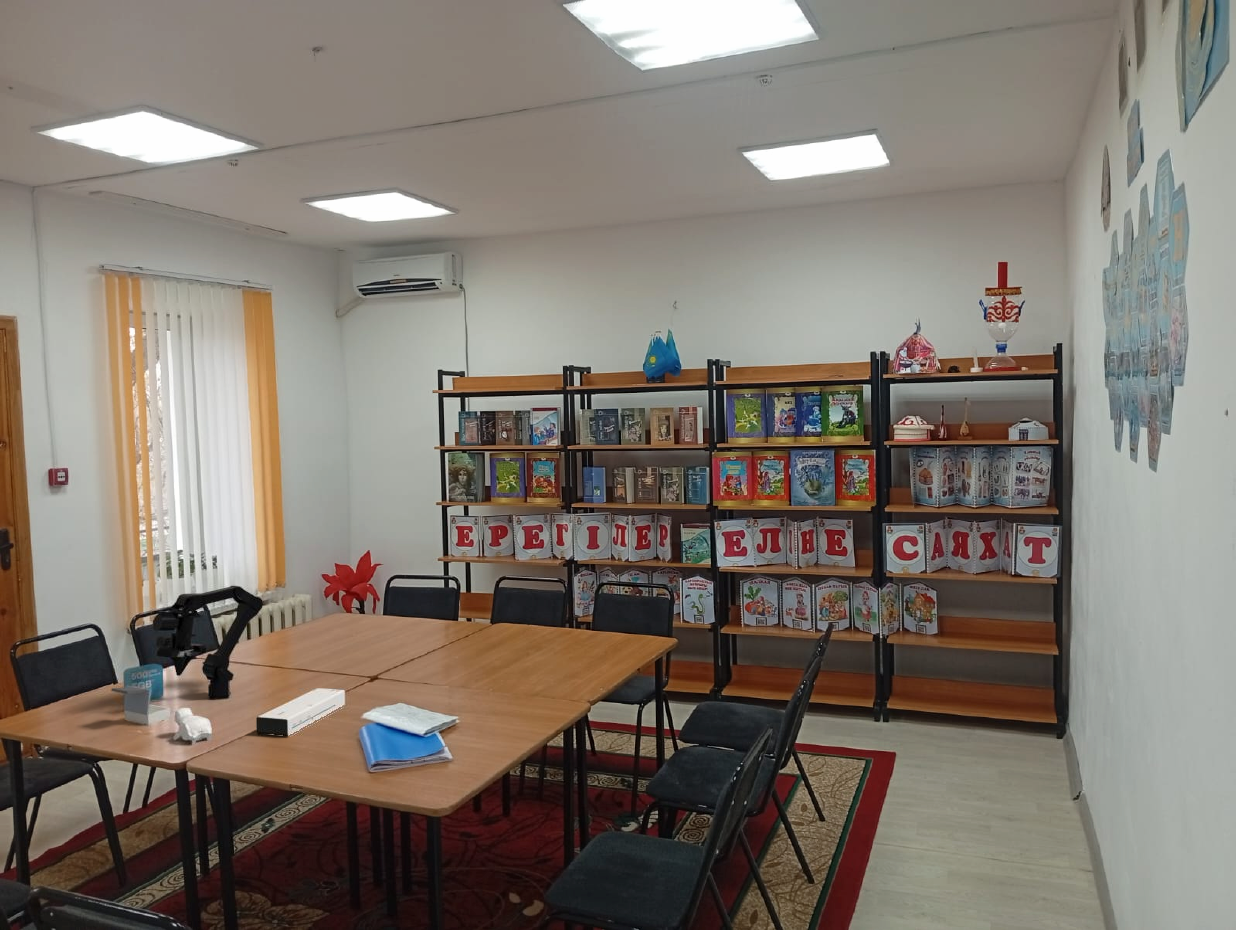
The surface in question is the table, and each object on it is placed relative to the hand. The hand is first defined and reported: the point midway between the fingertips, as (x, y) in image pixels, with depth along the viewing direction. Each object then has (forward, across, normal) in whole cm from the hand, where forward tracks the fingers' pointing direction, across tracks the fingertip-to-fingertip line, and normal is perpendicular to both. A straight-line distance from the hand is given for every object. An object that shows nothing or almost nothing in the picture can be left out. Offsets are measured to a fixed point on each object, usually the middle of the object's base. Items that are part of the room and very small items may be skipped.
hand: (178, 675), depth 318 cm
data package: (+12, -7, -18) cm, 23 cm away
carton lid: (+6, +16, -2) cm, 18 cm away
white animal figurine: (+14, +25, +26) cm, 39 cm away
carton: (+13, +12, -1) cm, 18 cm away
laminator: (+10, +2, +50) cm, 51 cm away
